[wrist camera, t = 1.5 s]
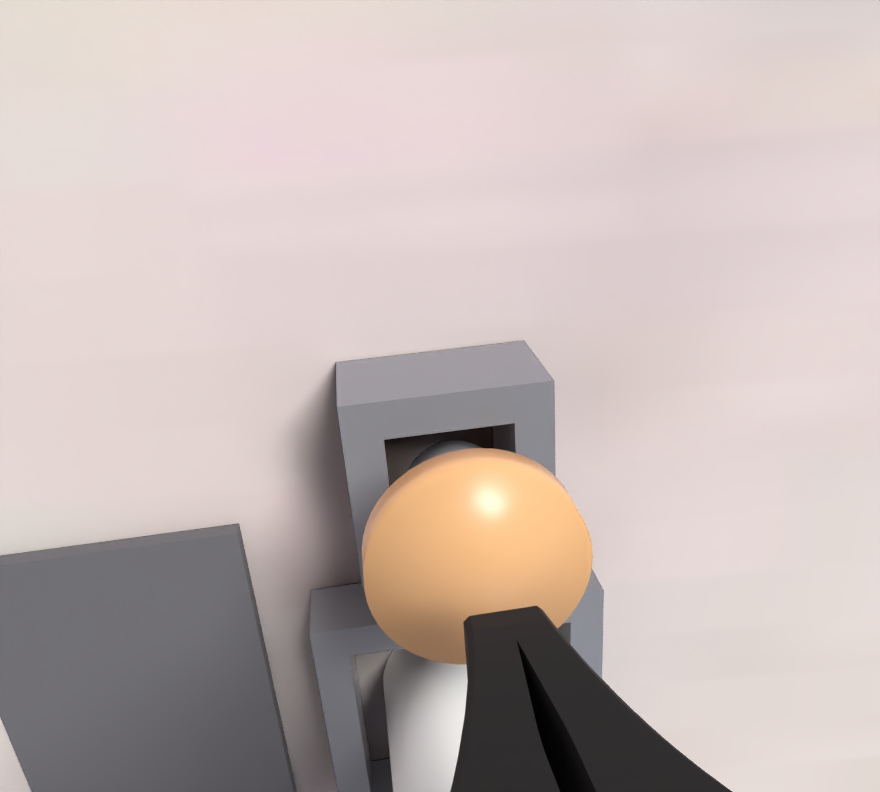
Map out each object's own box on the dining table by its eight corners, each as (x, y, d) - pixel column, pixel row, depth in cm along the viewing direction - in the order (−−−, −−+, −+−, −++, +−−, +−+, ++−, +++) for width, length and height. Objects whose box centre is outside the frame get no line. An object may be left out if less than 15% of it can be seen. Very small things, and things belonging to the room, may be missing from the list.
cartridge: (531, 716, 26) (594, 914, 20) (391, 739, 26) (410, 950, 19) (528, 603, 24) (597, 784, 18) (375, 626, 24) (392, 820, 17)
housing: (581, 746, 27) (609, 821, 24) (345, 786, 26) (347, 869, 23) (583, 333, 21) (622, 372, 18) (272, 369, 20) (262, 415, 17)
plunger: (545, 548, 20) (591, 646, 16) (368, 573, 19) (377, 679, 16) (542, 384, 18) (593, 456, 14) (346, 408, 18) (350, 488, 14)
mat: (300, 808, 26) (299, 821, 26) (66, 849, 25) (61, 863, 25) (238, 523, 21) (236, 533, 21) (-52, 562, 21) (-60, 573, 20)
